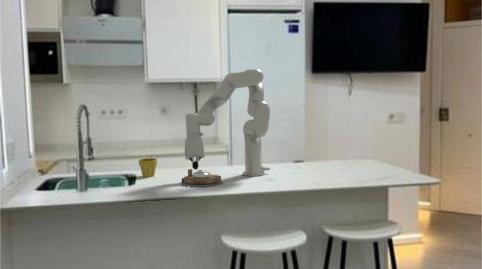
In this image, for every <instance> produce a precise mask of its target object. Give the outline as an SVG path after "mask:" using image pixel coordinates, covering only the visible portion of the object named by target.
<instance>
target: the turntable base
mask: <svg viewBox="0 0 482 269" xmlns="http://www.w3.org/2000/svg"><path fill="white" fill-rule="evenodd" d="M183 178H184V177H182V178H181V185H182V186H184V185H185V187H188V186H190V187H189V188H208V187H209V188H210V187H216V186H220V185H222V184H223V183H224V180H223V179H222V178H221V181H220V182H218V183H213V184H204V185H194V184H187V183H184V180H183Z"/></svg>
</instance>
